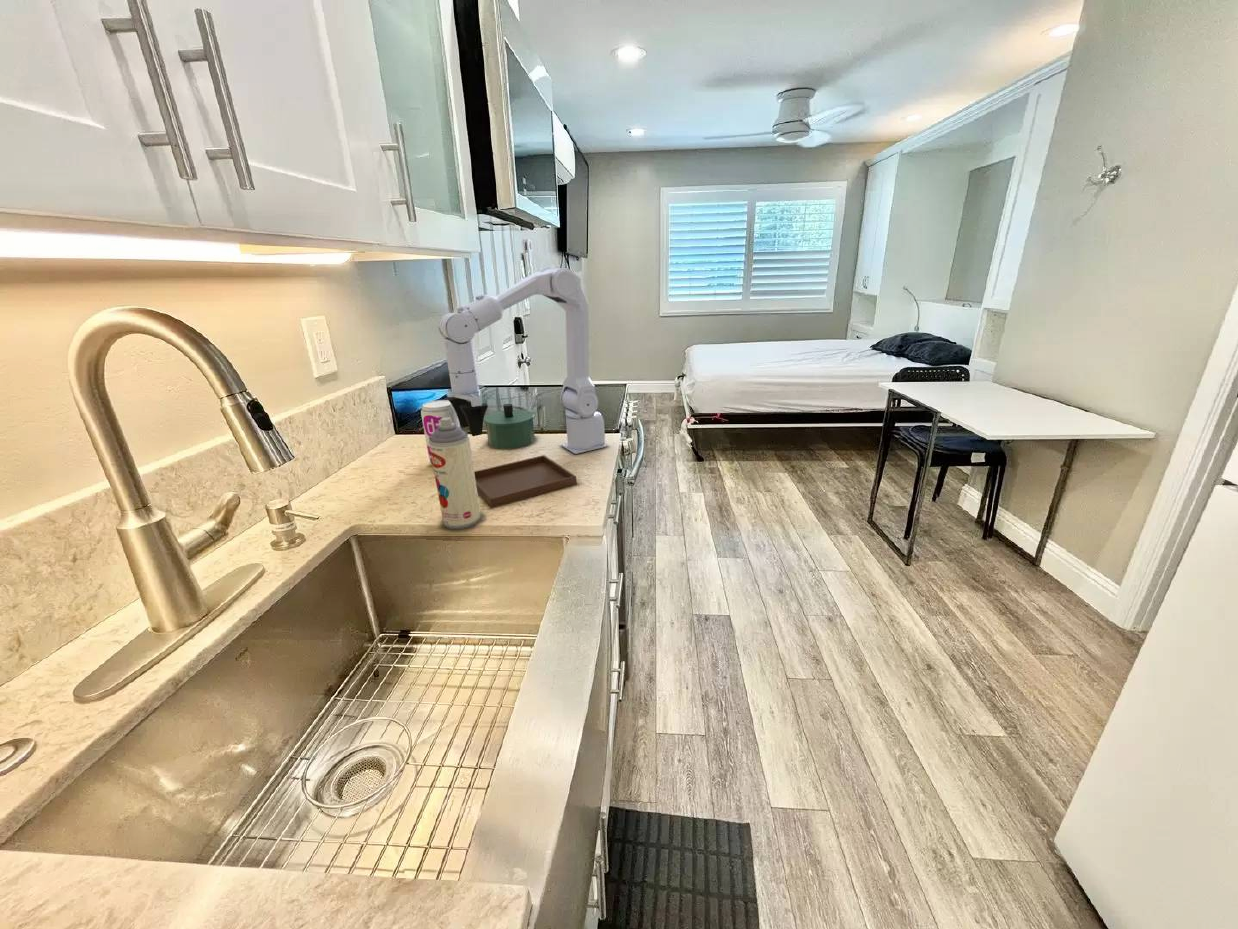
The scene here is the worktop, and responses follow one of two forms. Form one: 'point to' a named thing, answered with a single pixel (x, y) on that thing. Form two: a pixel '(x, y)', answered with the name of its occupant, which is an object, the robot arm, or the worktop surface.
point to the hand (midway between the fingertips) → (471, 430)
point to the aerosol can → (454, 476)
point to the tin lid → (508, 417)
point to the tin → (510, 435)
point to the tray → (521, 480)
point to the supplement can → (436, 418)
